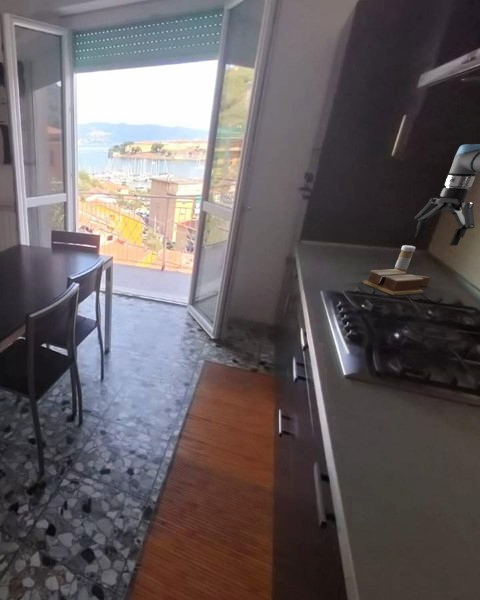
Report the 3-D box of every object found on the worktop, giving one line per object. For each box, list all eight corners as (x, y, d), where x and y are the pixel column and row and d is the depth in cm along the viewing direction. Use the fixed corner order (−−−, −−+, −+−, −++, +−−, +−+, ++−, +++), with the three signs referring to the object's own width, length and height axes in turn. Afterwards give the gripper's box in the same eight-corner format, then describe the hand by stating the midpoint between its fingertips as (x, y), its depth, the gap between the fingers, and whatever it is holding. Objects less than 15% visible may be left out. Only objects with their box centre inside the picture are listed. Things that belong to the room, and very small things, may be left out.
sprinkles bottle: (395, 272, 168) (406, 244, 162) (406, 275, 164) (418, 246, 159) (390, 273, 166) (400, 245, 161) (401, 276, 162) (412, 248, 157)
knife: (420, 284, 153) (425, 275, 151) (426, 286, 151) (430, 277, 149) (376, 281, 149) (380, 272, 147) (381, 283, 147) (386, 274, 145)
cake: (422, 293, 144) (428, 279, 142) (392, 295, 142) (398, 281, 140) (390, 281, 157) (395, 268, 155) (362, 282, 155) (367, 269, 153)
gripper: (415, 184, 148) (397, 234, 157) (487, 191, 126) (462, 249, 134) (430, 184, 150) (412, 234, 158) (504, 190, 127) (478, 248, 135)
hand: (434, 241), depth 146 cm, fingers open, 13 cm apart
